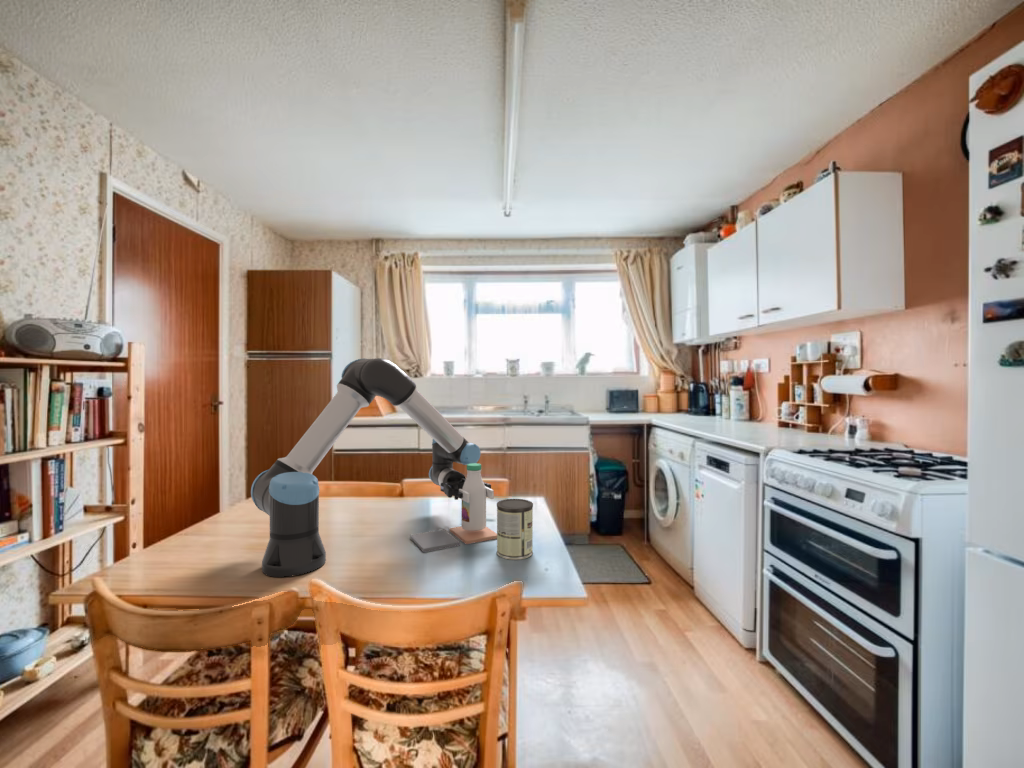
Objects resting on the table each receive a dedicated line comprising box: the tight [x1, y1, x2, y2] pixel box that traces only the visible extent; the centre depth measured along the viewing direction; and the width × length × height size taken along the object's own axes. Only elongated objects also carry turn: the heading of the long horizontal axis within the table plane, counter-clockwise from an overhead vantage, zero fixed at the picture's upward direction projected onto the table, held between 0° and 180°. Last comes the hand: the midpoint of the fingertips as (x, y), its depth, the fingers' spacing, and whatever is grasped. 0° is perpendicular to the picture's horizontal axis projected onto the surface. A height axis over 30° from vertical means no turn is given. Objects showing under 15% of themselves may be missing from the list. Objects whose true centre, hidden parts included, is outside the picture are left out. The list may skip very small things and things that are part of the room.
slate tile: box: [409, 528, 461, 553], centre depth 138 cm, size 11×13×1 cm
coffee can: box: [496, 498, 534, 561], centre depth 130 cm, size 10×10×14 cm
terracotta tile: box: [449, 525, 497, 545], centre depth 144 cm, size 11×13×1 cm
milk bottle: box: [461, 462, 487, 531], centre depth 144 cm, size 8×8×20 cm
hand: (480, 496), depth 140 cm, fingers closed on milk bottle, 7 cm apart
